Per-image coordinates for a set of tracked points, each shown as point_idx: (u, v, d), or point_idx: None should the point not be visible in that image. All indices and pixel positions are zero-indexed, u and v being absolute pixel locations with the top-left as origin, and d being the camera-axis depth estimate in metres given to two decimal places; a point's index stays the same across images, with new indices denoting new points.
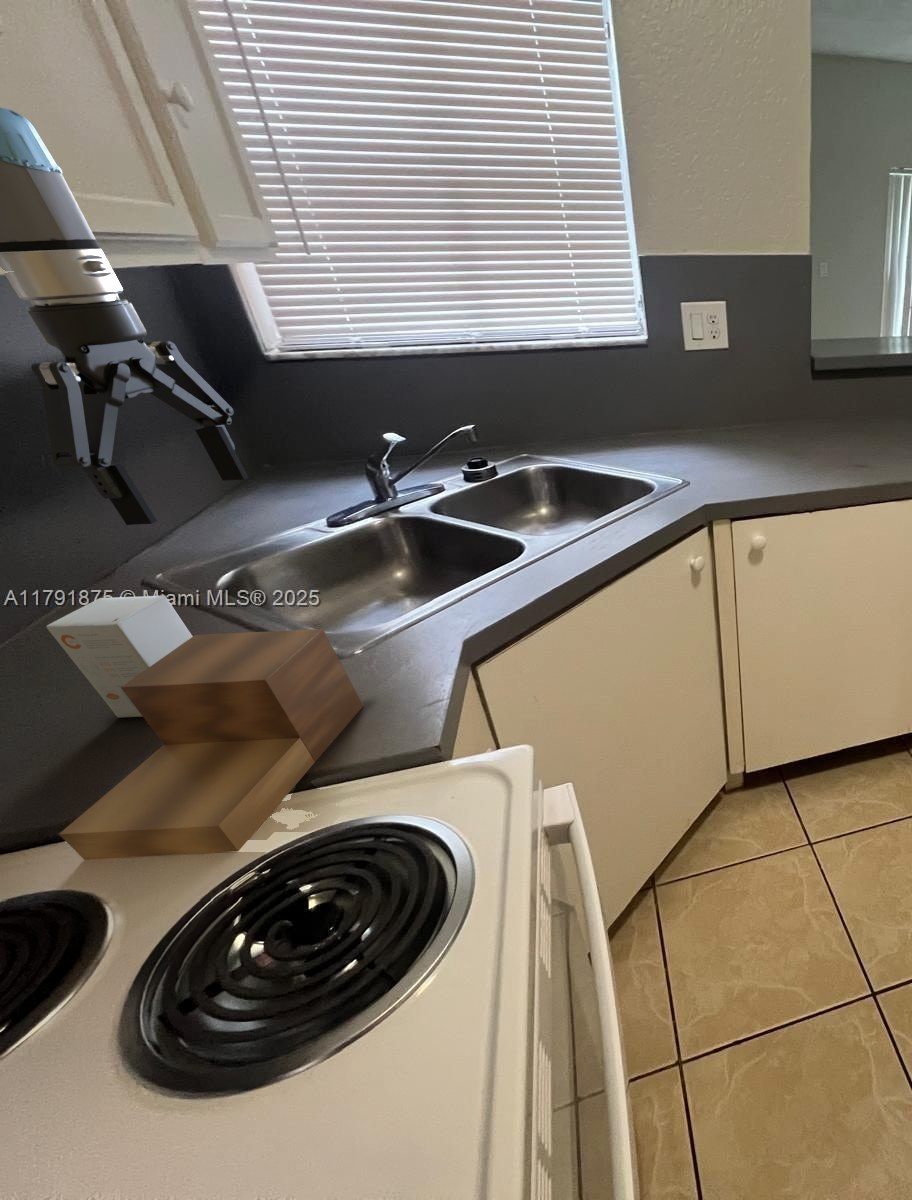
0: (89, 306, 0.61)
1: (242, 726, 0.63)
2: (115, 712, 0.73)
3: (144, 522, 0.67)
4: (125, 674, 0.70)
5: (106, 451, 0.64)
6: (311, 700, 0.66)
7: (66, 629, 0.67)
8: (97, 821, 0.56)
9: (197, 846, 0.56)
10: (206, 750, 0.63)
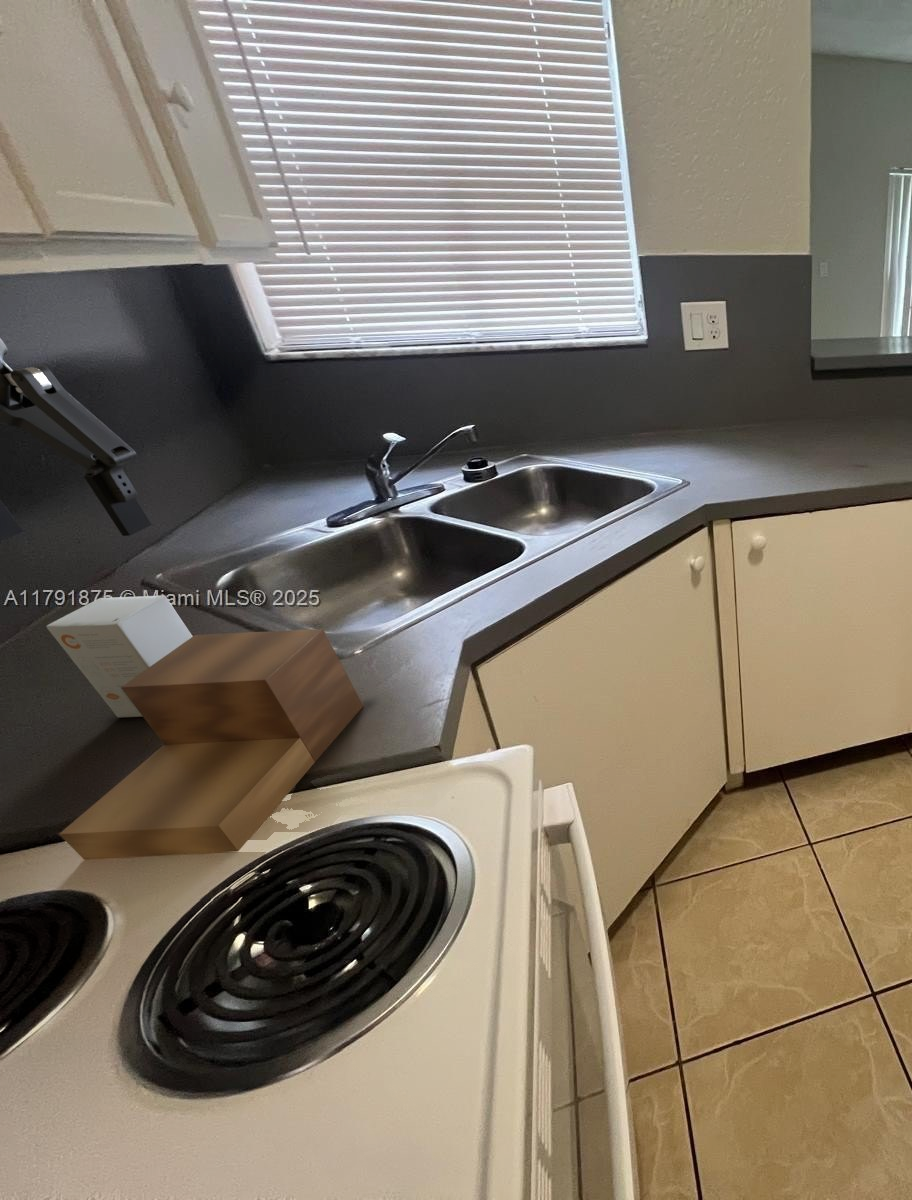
0: None
1: (242, 726, 0.63)
2: (115, 712, 0.73)
3: (145, 525, 0.67)
4: (125, 674, 0.70)
5: None
6: (311, 700, 0.66)
7: (66, 629, 0.67)
8: (97, 821, 0.56)
9: (197, 846, 0.56)
10: (206, 750, 0.63)
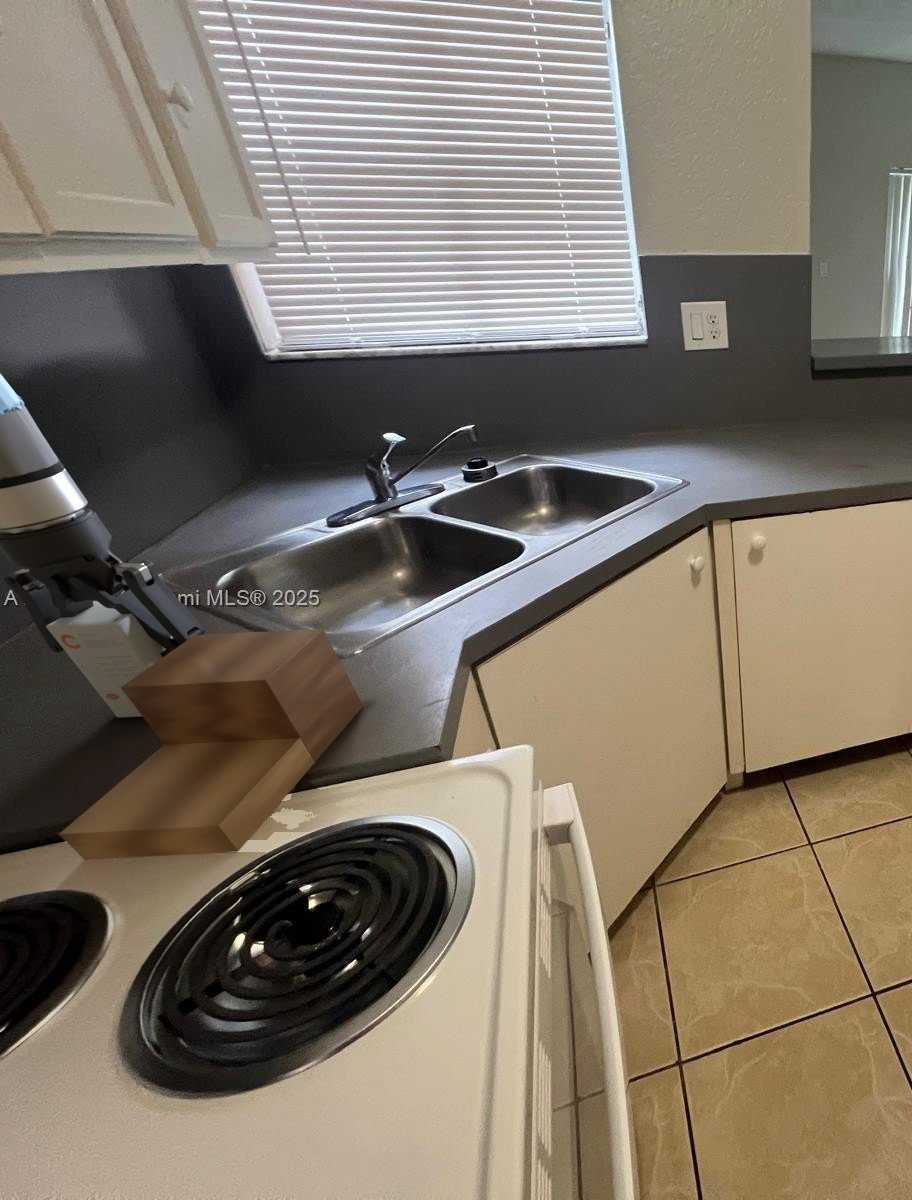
0: (91, 510, 0.67)
1: (242, 726, 0.63)
2: (115, 712, 0.73)
3: None
4: (125, 674, 0.70)
5: None
6: (311, 700, 0.66)
7: (66, 629, 0.67)
8: (97, 821, 0.56)
9: (197, 846, 0.56)
10: (206, 750, 0.63)
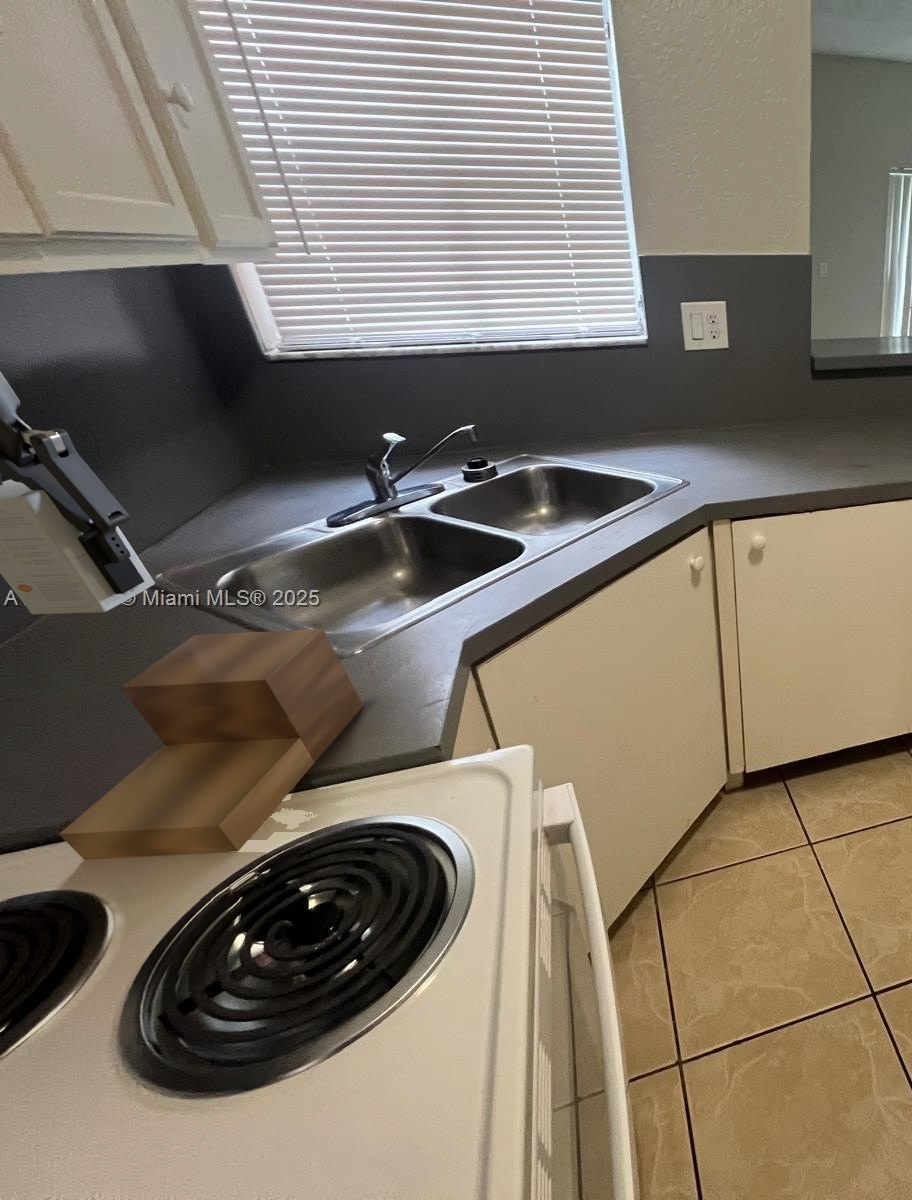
0: None
1: (242, 726, 0.63)
2: (29, 608, 0.66)
3: (138, 583, 0.69)
4: (37, 560, 0.63)
5: None
6: (311, 700, 0.66)
7: None
8: (97, 821, 0.56)
9: (197, 846, 0.56)
10: (206, 750, 0.63)
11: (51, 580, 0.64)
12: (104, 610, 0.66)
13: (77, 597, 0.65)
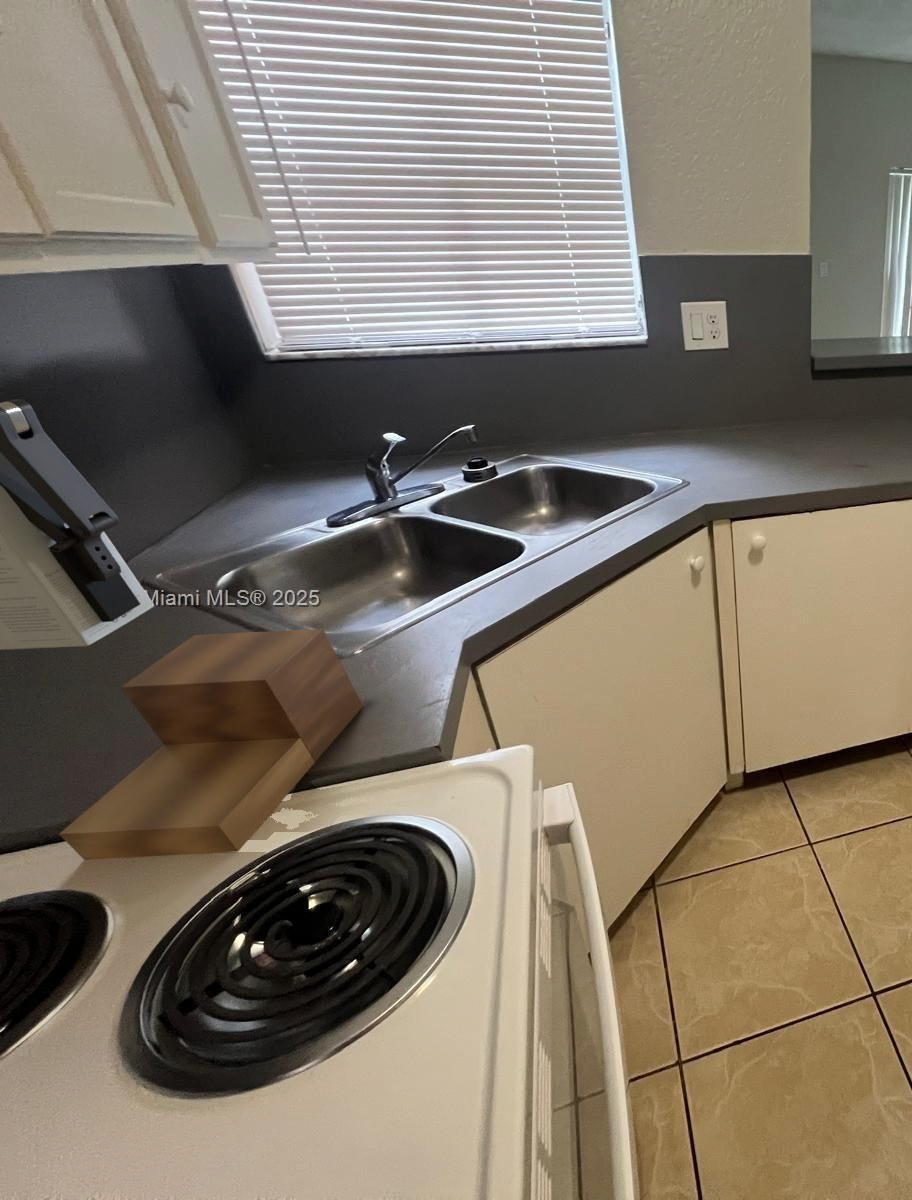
0: None
1: (242, 726, 0.63)
2: None
3: (132, 606, 0.53)
4: None
5: None
6: (311, 700, 0.66)
7: None
8: (97, 821, 0.56)
9: (197, 846, 0.56)
10: (206, 750, 0.63)
11: (14, 604, 0.48)
12: (87, 643, 0.50)
13: (50, 627, 0.49)
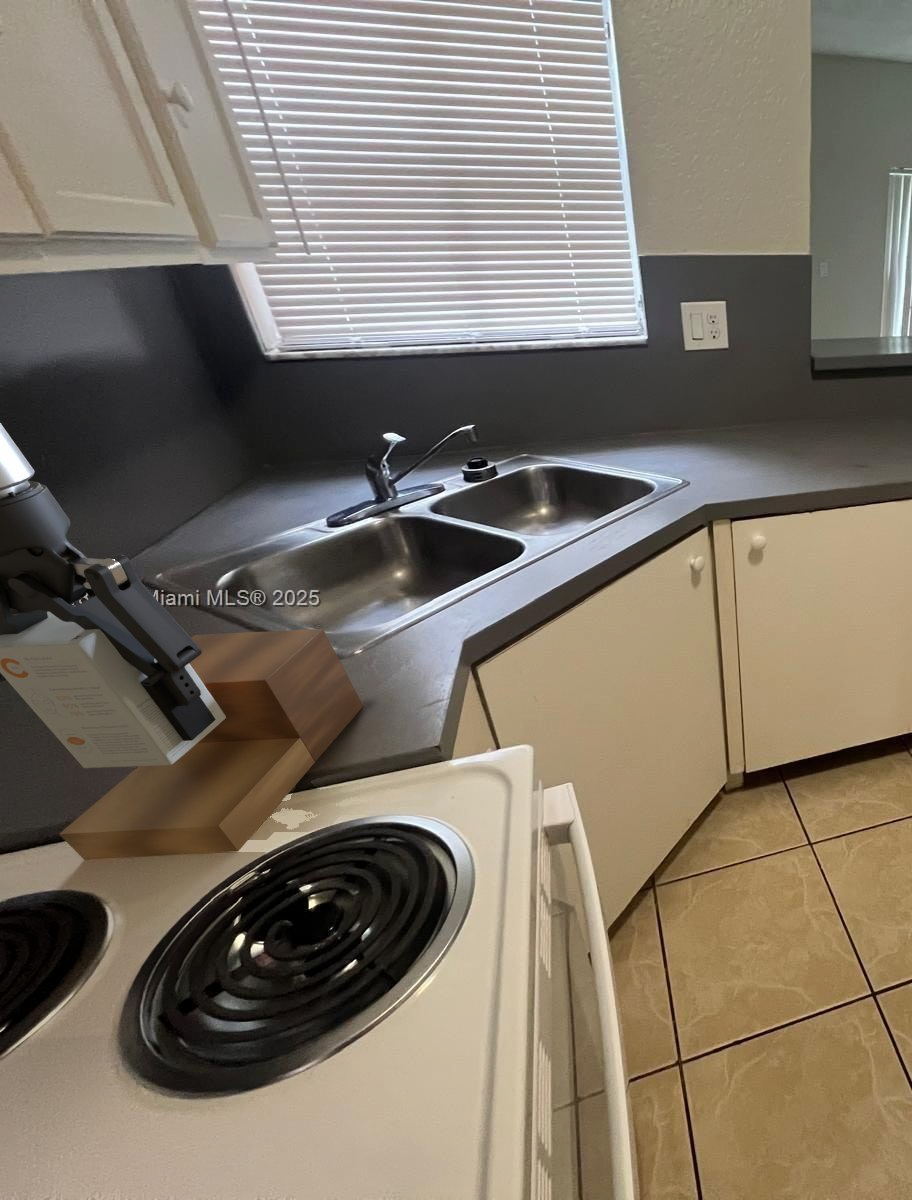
0: (40, 484, 0.47)
1: (242, 726, 0.63)
2: (80, 761, 0.54)
3: (209, 723, 0.57)
4: (92, 711, 0.51)
5: None
6: (311, 700, 0.66)
7: (7, 651, 0.48)
8: (97, 821, 0.56)
9: (197, 846, 0.56)
10: (206, 750, 0.63)
11: (108, 732, 0.52)
12: (171, 762, 0.54)
13: (139, 750, 0.53)
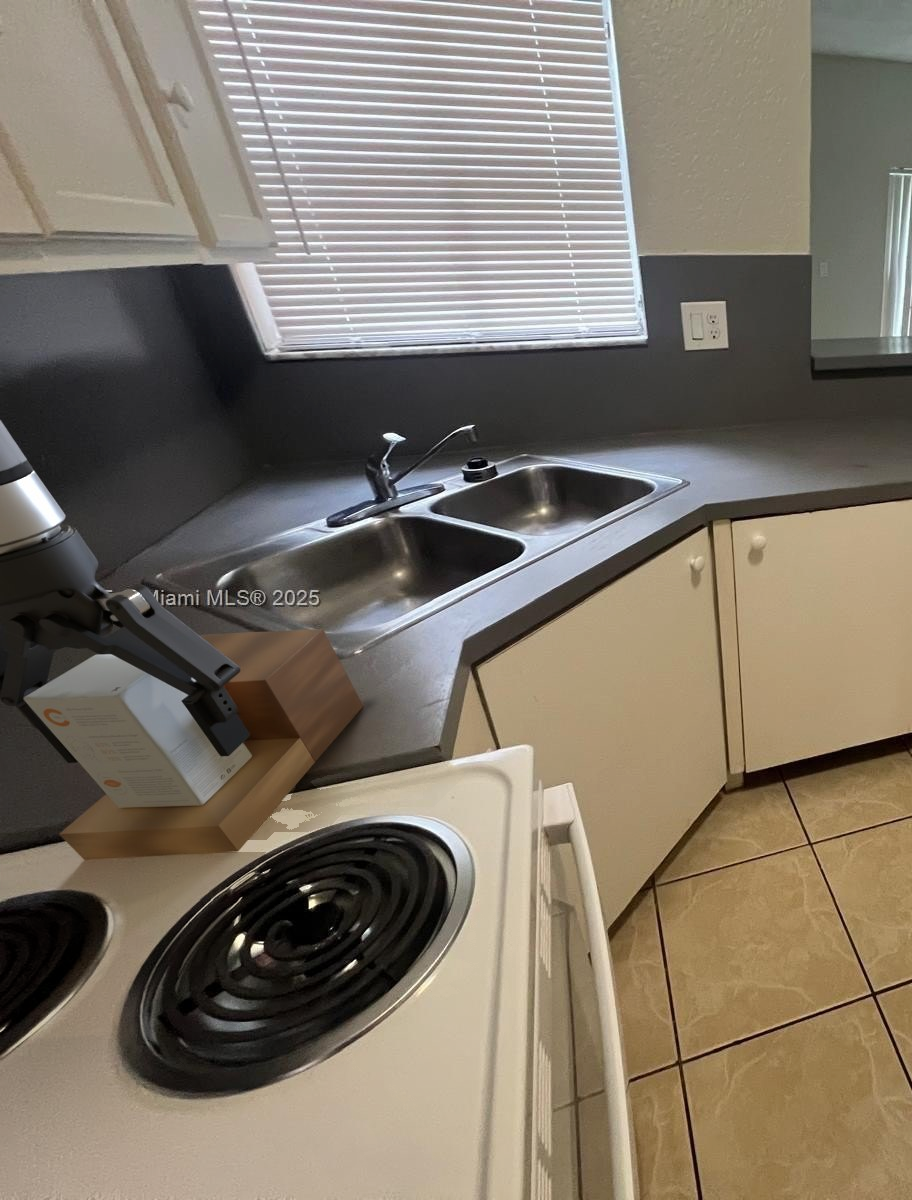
0: (70, 527, 0.49)
1: None
2: (115, 802, 0.57)
3: (244, 738, 0.58)
4: (129, 757, 0.54)
5: None
6: (311, 700, 0.66)
7: (50, 702, 0.51)
8: (97, 821, 0.56)
9: (197, 846, 0.56)
10: None
11: (143, 775, 0.55)
12: (202, 803, 0.57)
13: (172, 792, 0.56)
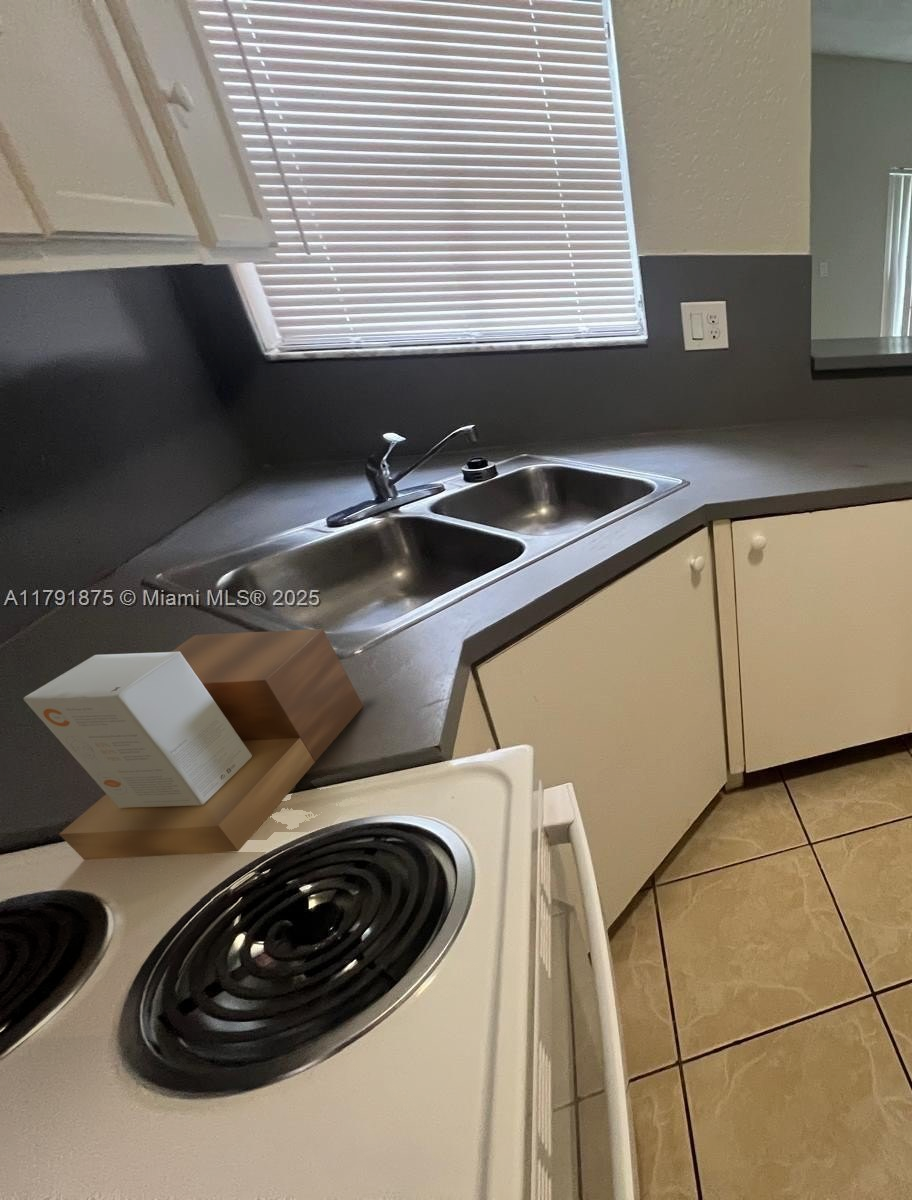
0: None
1: (242, 726, 0.63)
2: (115, 802, 0.57)
3: None
4: (129, 757, 0.54)
5: None
6: (311, 700, 0.66)
7: (50, 702, 0.51)
8: (97, 821, 0.56)
9: (197, 846, 0.56)
10: None
11: (143, 775, 0.55)
12: (202, 803, 0.57)
13: (172, 792, 0.56)
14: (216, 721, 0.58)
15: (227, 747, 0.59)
